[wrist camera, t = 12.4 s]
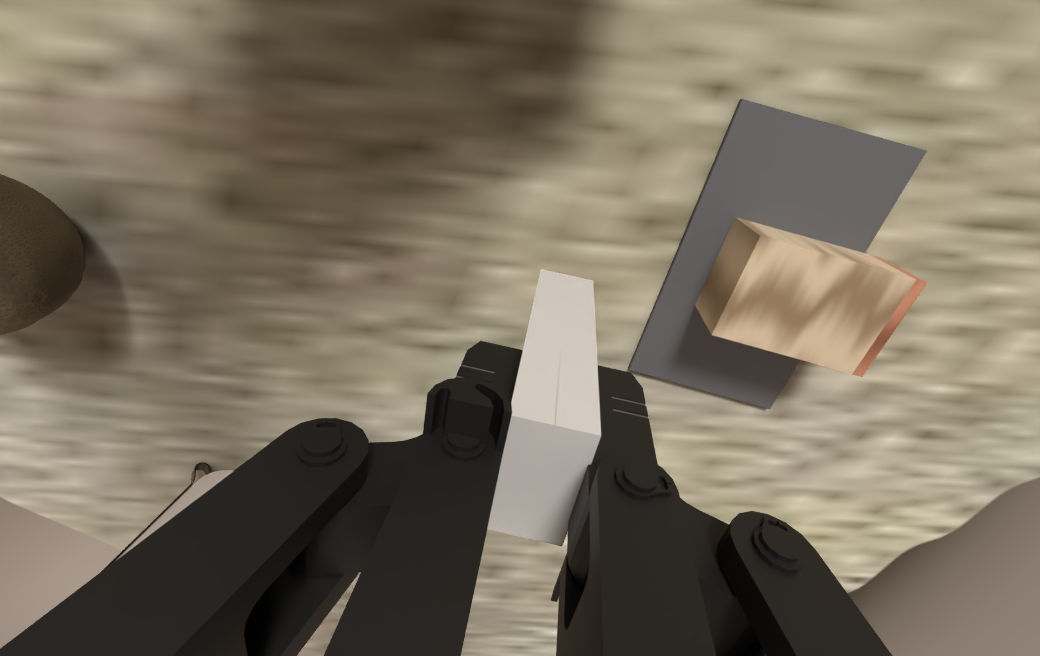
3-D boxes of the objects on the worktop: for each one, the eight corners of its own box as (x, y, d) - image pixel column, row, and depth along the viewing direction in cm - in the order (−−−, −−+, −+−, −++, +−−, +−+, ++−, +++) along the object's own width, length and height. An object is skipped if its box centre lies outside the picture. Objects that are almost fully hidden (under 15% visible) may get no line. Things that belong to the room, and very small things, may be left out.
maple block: (878, 257, 38) (735, 217, 38) (927, 282, 32) (760, 235, 32) (825, 341, 41) (694, 304, 41) (862, 376, 36) (711, 334, 36)
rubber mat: (740, 99, 35) (742, 99, 34) (922, 150, 35) (927, 150, 34) (628, 367, 45) (629, 369, 45) (768, 406, 45) (769, 409, 45)
